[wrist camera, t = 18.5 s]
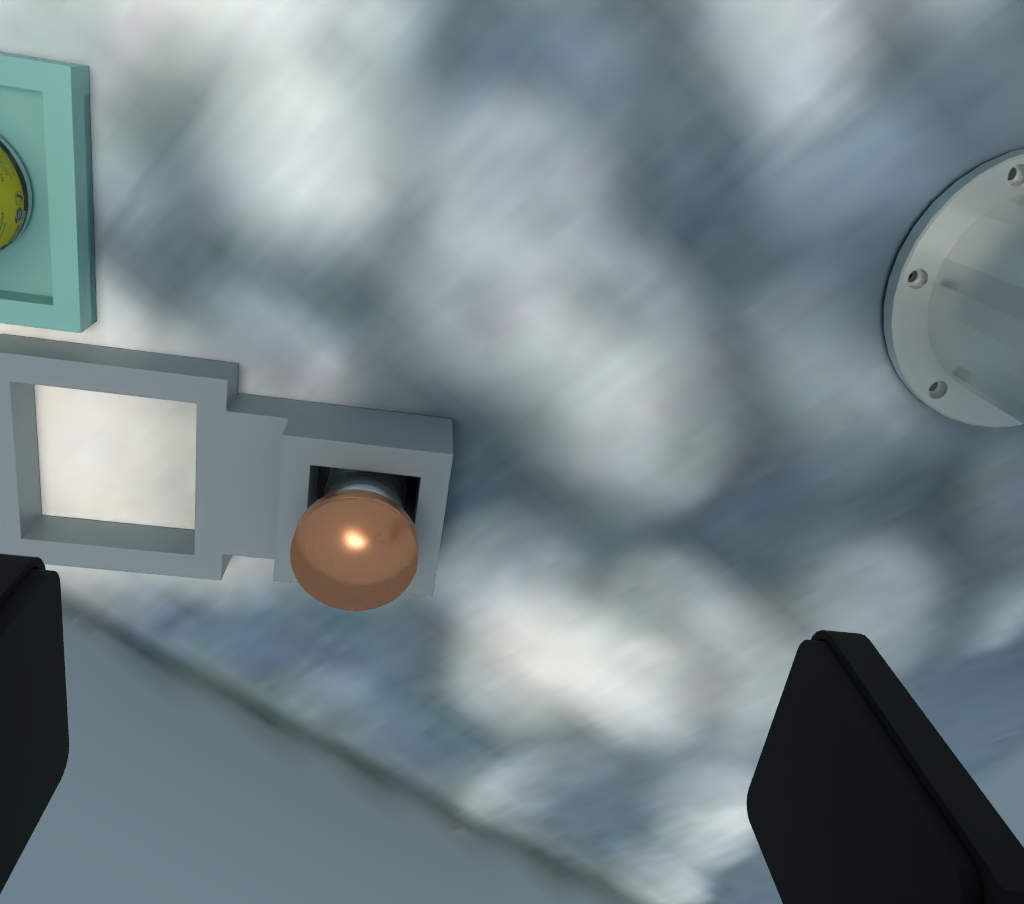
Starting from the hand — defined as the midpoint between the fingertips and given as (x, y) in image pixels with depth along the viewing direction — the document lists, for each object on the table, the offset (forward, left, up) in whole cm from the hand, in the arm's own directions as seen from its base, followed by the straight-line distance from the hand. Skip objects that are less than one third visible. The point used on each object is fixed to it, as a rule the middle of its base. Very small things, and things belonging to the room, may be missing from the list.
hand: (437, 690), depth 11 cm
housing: (+8, +11, -28) cm, 31 cm away
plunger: (+2, +11, -28) cm, 30 cm away
